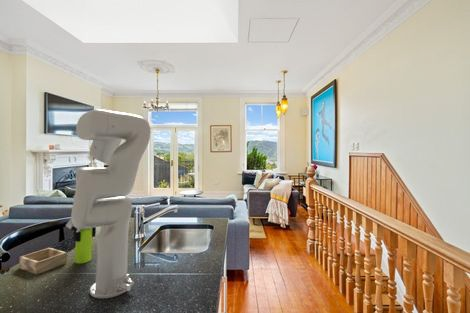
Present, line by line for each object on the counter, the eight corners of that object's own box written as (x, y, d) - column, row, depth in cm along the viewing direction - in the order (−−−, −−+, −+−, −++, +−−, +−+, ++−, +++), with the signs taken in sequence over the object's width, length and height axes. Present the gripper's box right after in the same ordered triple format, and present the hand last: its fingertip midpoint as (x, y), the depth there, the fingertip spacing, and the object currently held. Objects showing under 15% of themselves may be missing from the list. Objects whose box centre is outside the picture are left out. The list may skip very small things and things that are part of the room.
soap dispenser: (85, 264, 97) (87, 215, 98) (71, 262, 99) (73, 214, 99) (96, 258, 103) (98, 212, 103) (83, 256, 105) (84, 211, 105)
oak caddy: (66, 263, 98) (66, 252, 98) (36, 274, 88) (37, 262, 88) (49, 257, 103) (49, 247, 103) (19, 268, 93) (19, 256, 93)
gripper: (71, 200, 92) (69, 247, 92) (110, 194, 107) (108, 234, 107) (58, 198, 94) (57, 243, 94) (98, 192, 110) (97, 231, 110)
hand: (84, 238), depth 101 cm, fingers closed on soap dispenser, 5 cm apart
